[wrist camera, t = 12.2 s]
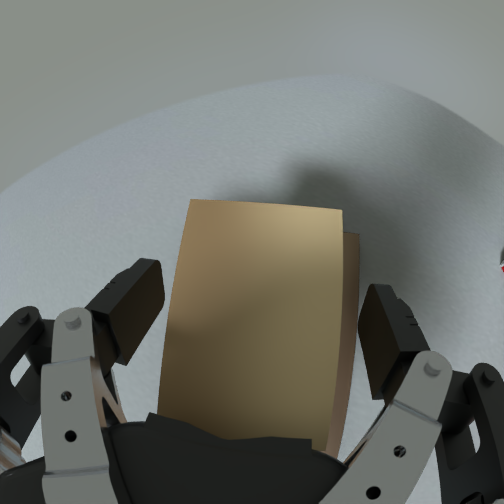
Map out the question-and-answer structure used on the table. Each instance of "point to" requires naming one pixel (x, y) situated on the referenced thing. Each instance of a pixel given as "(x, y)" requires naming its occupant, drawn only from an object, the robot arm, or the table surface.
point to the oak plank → (255, 321)
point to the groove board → (345, 341)
